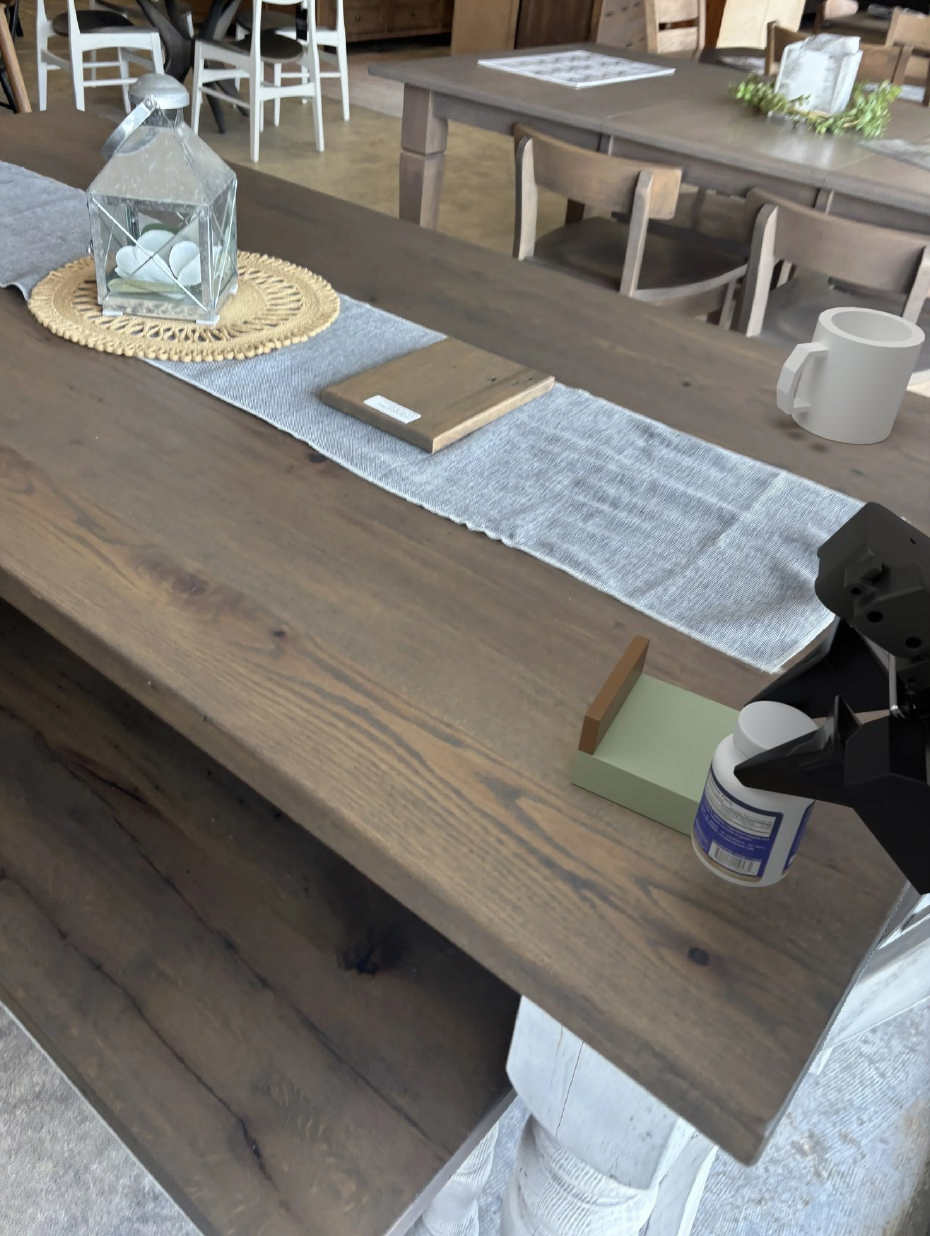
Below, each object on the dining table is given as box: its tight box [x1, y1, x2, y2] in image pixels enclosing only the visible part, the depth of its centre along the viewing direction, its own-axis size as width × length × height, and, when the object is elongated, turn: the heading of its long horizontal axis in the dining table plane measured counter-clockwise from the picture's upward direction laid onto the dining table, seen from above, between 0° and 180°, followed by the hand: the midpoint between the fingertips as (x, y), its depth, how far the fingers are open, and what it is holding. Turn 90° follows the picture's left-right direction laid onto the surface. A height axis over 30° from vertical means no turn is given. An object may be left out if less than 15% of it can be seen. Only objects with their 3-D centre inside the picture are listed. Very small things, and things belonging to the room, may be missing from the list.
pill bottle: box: [690, 701, 820, 888], centre depth 51 cm, size 5×5×9 cm
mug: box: [776, 306, 926, 445], centre depth 103 cm, size 14×10×11 cm
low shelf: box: [570, 633, 741, 837], centre depth 63 cm, size 9×9×6 cm
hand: (742, 744), depth 50 cm, fingers closed on pill bottle, 4 cm apart
